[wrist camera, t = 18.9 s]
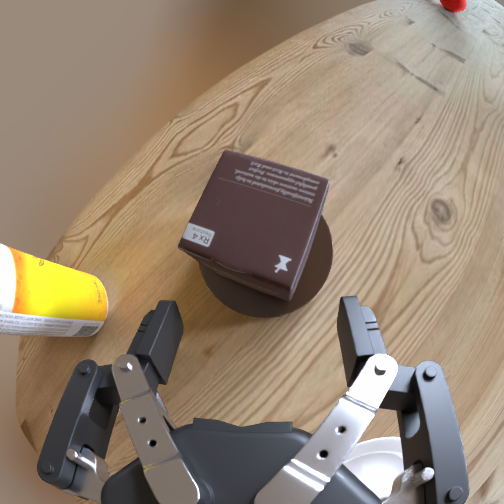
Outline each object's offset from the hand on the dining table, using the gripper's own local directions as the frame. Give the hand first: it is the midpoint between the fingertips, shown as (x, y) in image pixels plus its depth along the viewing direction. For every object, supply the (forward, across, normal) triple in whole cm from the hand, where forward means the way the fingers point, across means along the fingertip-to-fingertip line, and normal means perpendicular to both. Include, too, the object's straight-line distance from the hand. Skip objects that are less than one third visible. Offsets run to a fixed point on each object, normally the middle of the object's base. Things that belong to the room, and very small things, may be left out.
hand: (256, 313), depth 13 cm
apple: (+52, -48, -39) cm, 81 cm away
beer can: (+7, +17, +6) cm, 19 cm away
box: (+8, 0, +1) cm, 8 cm away
